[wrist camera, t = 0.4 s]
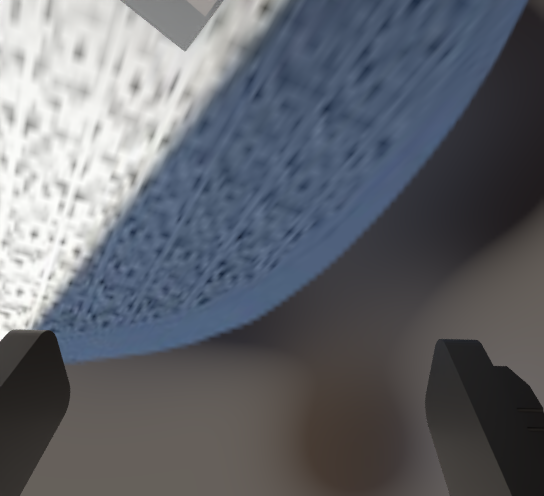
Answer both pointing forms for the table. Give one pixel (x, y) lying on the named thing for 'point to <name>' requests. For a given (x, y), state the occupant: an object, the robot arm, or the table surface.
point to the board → (176, 17)
